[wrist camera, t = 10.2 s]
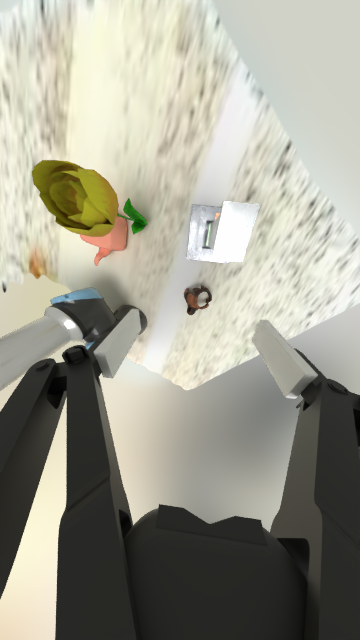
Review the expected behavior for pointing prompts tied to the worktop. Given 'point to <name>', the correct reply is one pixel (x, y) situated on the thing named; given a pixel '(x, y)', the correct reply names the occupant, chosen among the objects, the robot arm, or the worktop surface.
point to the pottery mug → (192, 299)
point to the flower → (81, 198)
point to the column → (232, 230)
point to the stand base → (201, 233)
